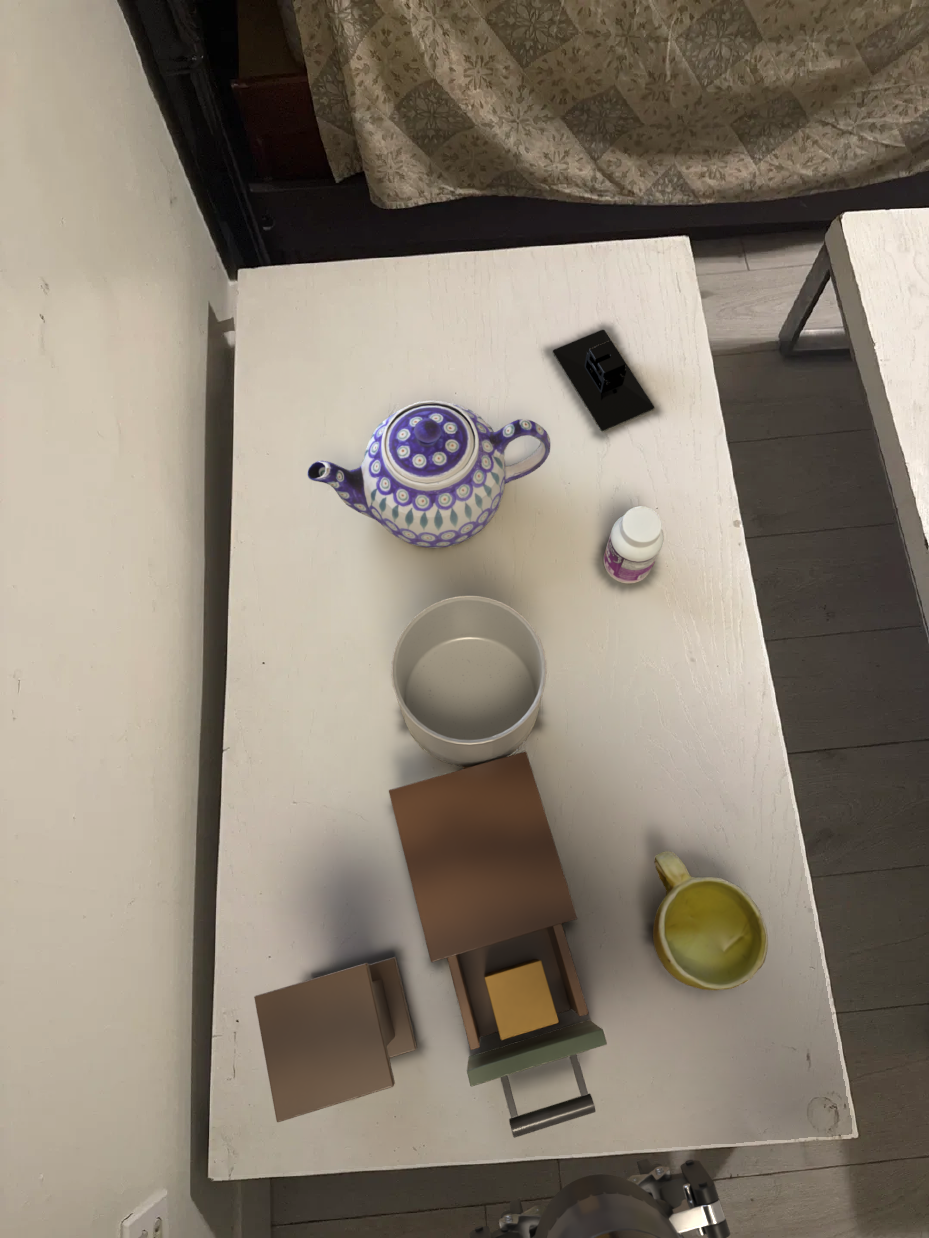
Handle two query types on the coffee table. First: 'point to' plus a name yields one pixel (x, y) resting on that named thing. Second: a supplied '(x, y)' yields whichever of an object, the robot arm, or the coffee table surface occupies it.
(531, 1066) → the drawer
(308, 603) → the coffee table surface
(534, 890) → the cabinet
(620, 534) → the pill bottle
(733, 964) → the mug
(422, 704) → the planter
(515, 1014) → the block
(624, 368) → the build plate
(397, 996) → the stand
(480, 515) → the teapot
